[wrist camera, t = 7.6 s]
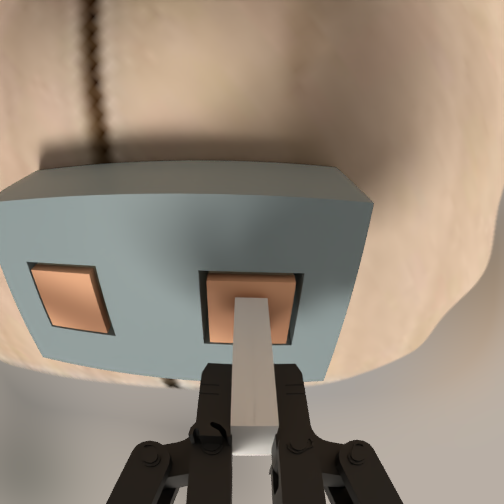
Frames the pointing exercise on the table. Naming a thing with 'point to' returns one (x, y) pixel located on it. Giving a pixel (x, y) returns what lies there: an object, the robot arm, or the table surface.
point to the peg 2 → (249, 286)
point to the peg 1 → (72, 296)
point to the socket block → (184, 255)
